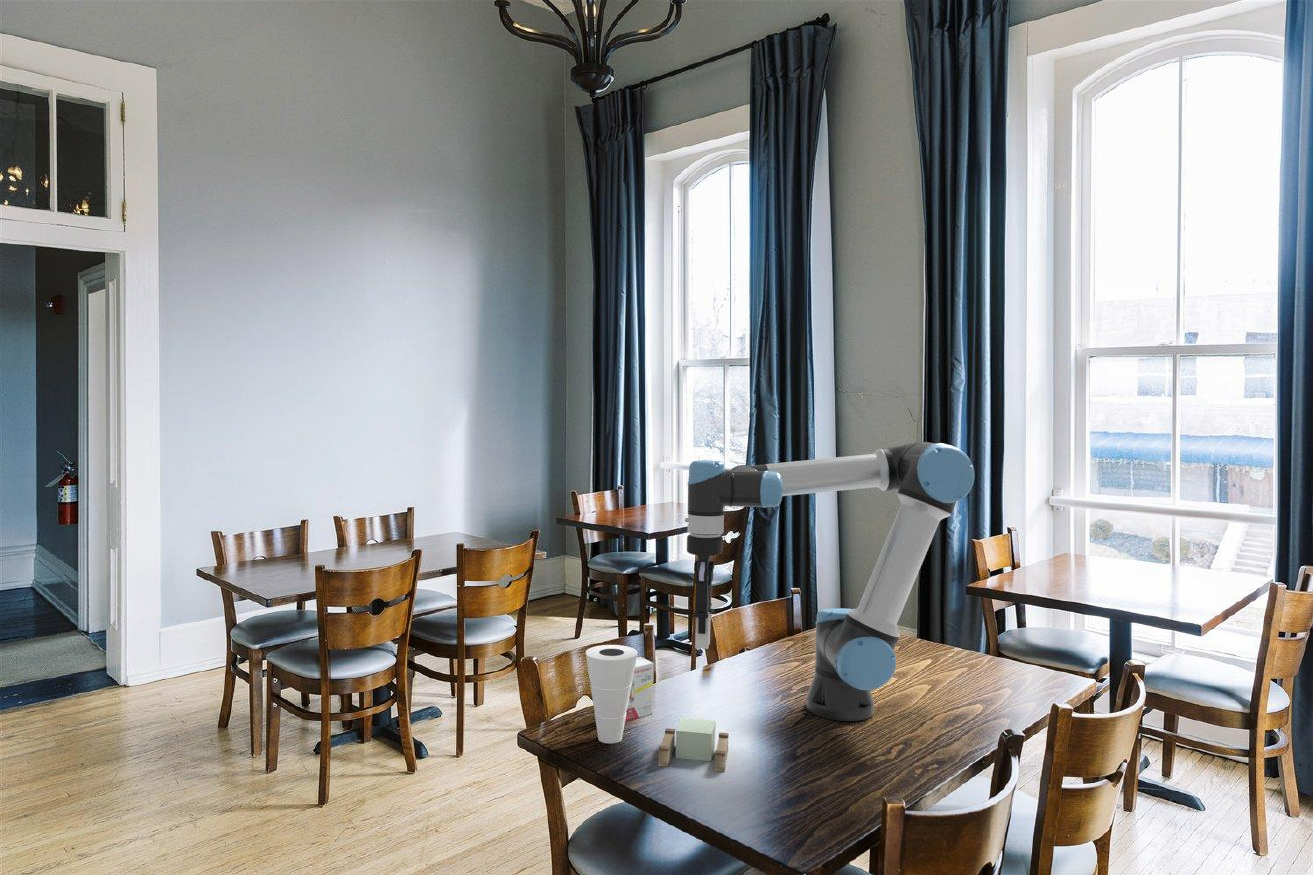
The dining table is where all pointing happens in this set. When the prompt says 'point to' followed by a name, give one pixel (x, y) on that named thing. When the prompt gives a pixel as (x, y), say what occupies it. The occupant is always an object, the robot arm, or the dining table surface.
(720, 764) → the light wood low frame
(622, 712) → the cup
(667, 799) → the dining table surface
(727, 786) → the dining table surface
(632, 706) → the ink box
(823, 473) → the robot arm
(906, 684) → the dining table surface
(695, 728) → the block
